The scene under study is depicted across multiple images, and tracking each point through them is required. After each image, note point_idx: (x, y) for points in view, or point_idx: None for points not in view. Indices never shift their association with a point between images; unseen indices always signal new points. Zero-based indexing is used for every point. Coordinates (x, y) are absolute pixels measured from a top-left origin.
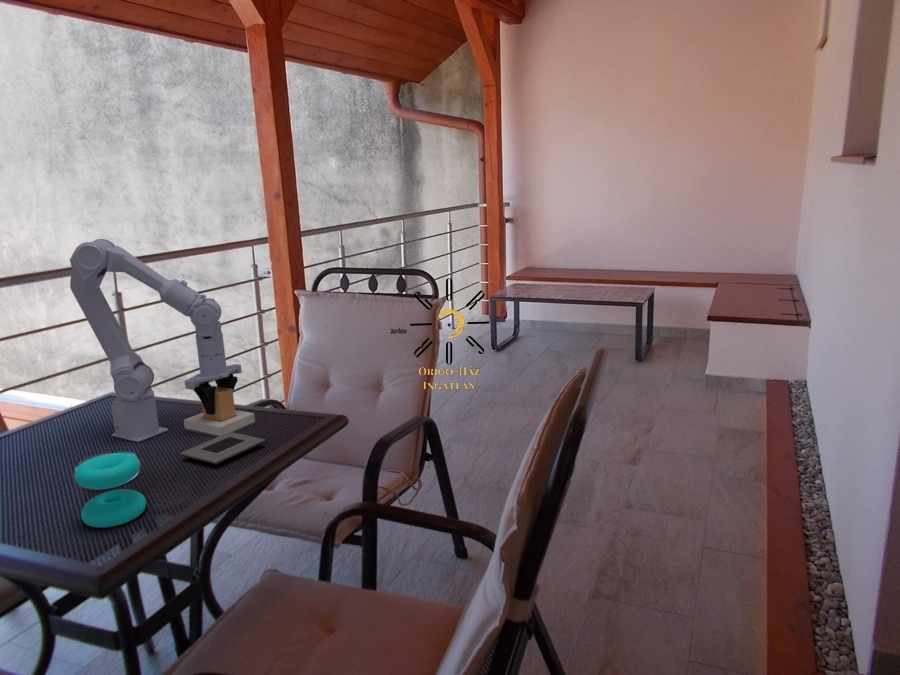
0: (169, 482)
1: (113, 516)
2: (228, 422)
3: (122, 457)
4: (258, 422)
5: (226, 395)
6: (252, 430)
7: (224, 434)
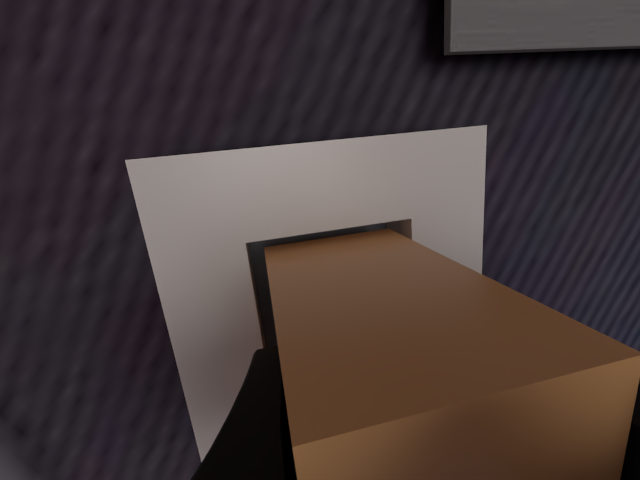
0: None
1: None
2: (393, 163)
3: None
4: (122, 162)
5: (423, 345)
6: (253, 60)
7: (499, 46)
